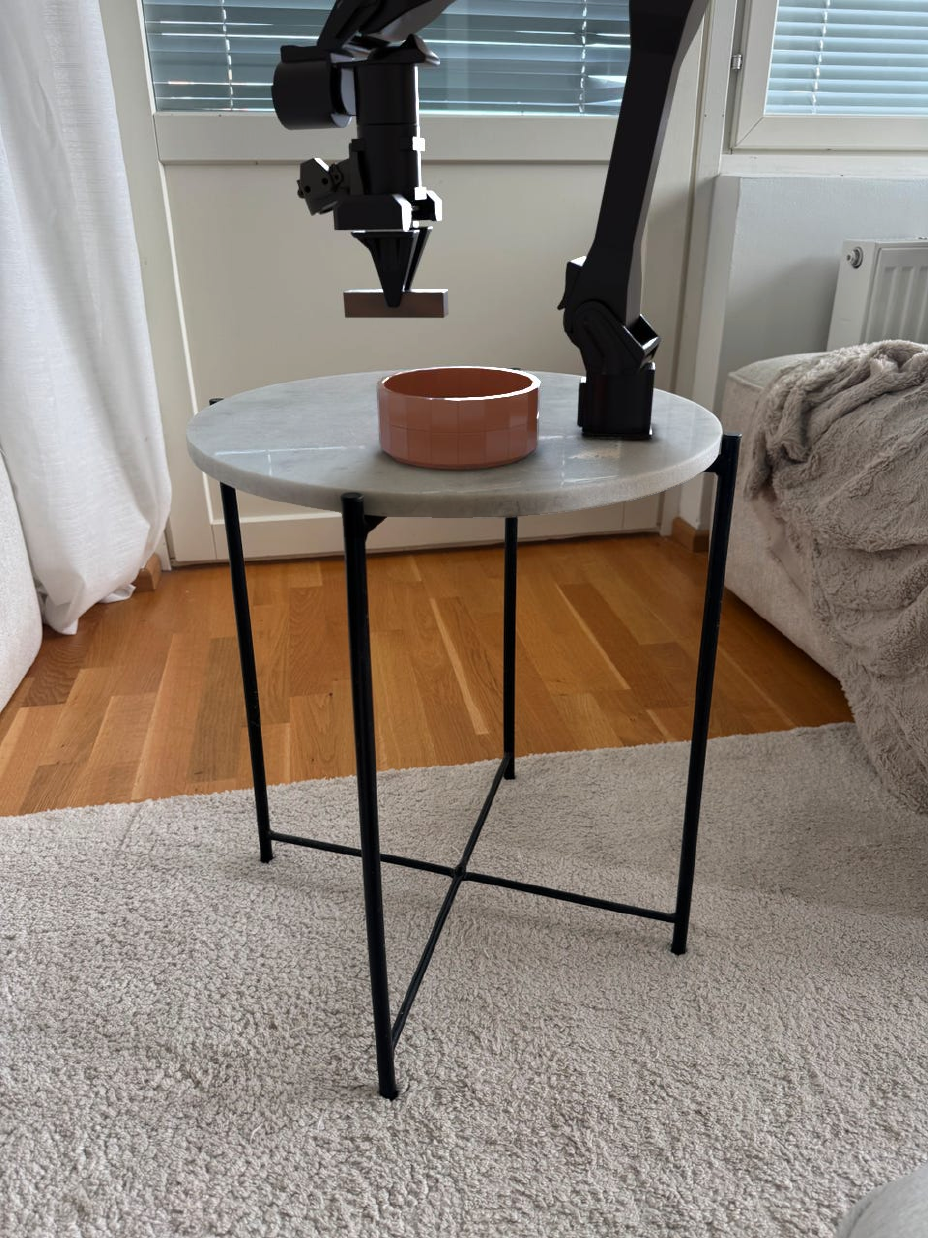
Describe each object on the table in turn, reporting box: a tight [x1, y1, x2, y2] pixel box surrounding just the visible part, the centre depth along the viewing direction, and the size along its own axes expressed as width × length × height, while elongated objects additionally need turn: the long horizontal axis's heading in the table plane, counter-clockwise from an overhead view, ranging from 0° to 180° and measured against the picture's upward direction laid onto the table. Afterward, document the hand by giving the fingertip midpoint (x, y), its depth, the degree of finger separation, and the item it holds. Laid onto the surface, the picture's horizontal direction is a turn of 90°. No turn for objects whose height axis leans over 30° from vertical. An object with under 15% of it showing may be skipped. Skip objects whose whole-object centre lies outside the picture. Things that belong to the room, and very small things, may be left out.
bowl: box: [375, 365, 541, 471], centre depth 81 cm, size 14×14×6 cm
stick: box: [342, 288, 449, 319], centre depth 90 cm, size 10×2×2 cm, turn 80°
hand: (396, 305), depth 90 cm, fingers closed on stick, 2 cm apart
